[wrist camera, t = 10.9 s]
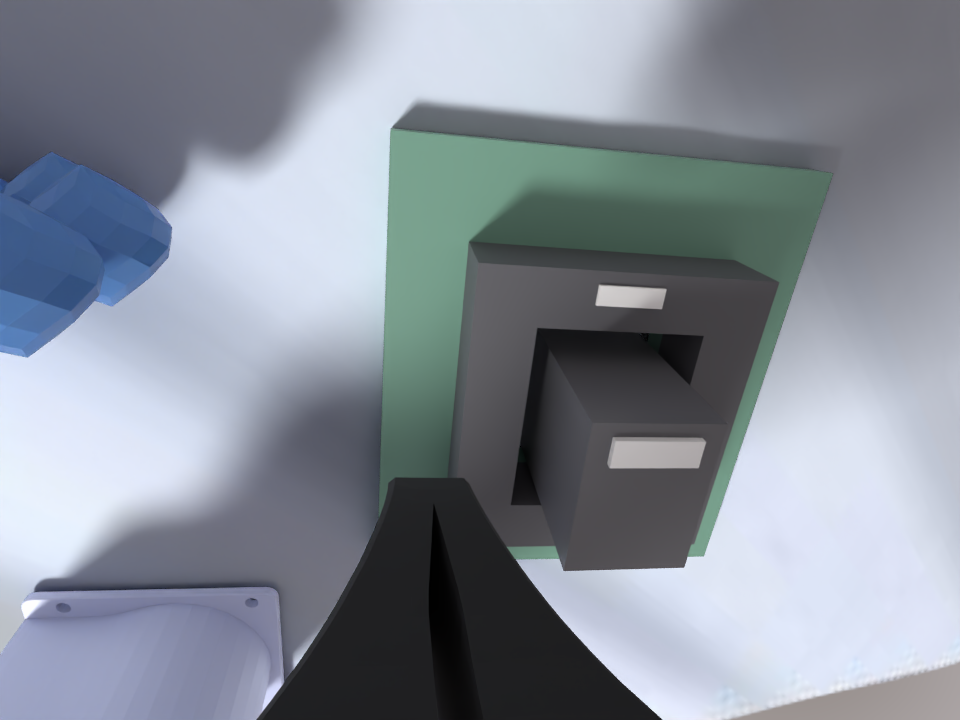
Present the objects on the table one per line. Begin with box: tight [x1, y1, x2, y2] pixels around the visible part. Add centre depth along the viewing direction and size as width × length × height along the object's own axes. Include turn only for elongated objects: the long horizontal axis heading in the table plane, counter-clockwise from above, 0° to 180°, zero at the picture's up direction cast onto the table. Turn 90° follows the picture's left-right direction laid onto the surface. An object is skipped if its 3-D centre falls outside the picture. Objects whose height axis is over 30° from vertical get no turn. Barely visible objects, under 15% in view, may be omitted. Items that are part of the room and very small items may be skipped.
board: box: [378, 128, 833, 559], centre depth 20 cm, size 14×16×4 cm
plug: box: [520, 328, 728, 571], centre depth 18 cm, size 4×5×7 cm
